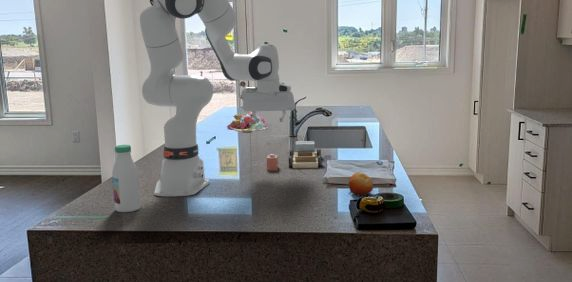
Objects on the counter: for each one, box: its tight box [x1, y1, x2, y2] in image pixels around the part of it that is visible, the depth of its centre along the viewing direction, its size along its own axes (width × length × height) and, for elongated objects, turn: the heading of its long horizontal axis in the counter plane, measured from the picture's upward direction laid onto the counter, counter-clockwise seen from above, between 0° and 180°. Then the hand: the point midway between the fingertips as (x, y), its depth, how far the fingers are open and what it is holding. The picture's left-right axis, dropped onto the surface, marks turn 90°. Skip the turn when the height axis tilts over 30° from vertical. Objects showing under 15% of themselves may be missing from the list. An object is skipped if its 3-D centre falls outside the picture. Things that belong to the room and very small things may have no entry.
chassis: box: [288, 140, 323, 169], centre depth 212 cm, size 20×13×7 cm, turn 178°
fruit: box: [348, 172, 374, 197], centre depth 168 cm, size 8×8×8 cm
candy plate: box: [226, 111, 269, 133], centre depth 298 cm, size 25×24×9 cm
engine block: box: [266, 153, 279, 171], centre depth 203 cm, size 5×4×6 cm
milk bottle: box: [111, 144, 142, 213], centre depth 157 cm, size 8×8×20 cm
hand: (269, 122), depth 200 cm, fingers open, 8 cm apart
